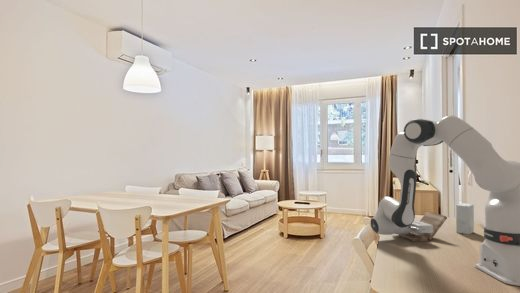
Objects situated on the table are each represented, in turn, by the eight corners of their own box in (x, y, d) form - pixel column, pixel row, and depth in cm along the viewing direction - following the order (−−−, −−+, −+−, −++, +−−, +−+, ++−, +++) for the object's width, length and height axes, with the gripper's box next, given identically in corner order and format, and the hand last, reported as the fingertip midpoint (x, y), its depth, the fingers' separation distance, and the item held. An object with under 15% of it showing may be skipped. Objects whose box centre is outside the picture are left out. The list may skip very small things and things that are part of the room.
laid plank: (415, 241, 145) (414, 238, 145) (398, 235, 156) (398, 231, 156) (427, 240, 146) (427, 237, 146) (410, 234, 158) (410, 231, 158)
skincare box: (461, 230, 166) (461, 202, 167) (474, 232, 161) (474, 204, 162) (456, 232, 161) (455, 204, 161) (469, 235, 156) (468, 205, 157)
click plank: (428, 238, 146) (445, 215, 148) (411, 232, 158) (426, 211, 160) (430, 240, 146) (447, 218, 149) (413, 234, 158) (428, 213, 160)
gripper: (417, 223, 140) (443, 222, 143) (389, 214, 160) (412, 214, 163) (417, 236, 140) (443, 235, 143) (389, 226, 160) (412, 226, 163)
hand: (426, 224), depth 153 cm, fingers closed, pressing on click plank
